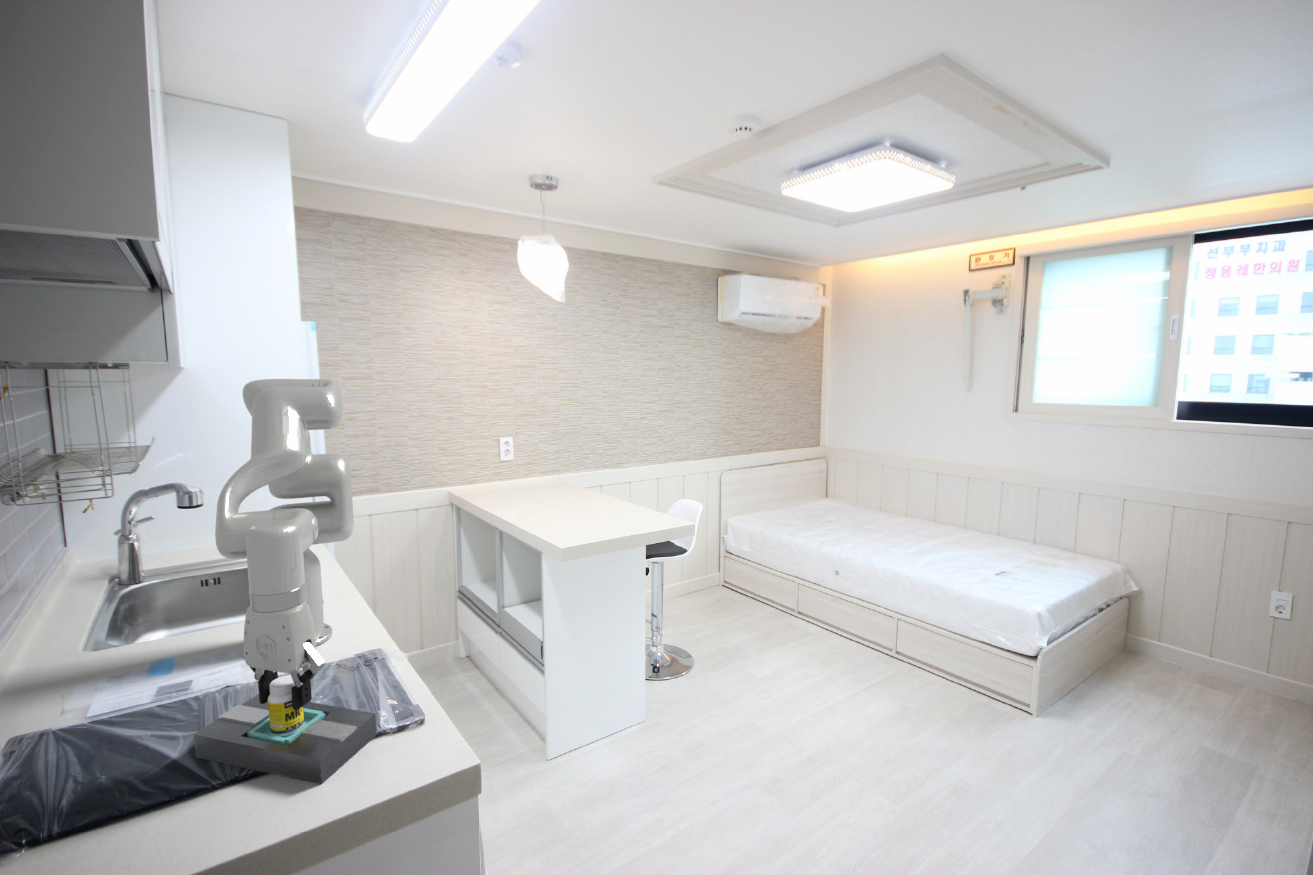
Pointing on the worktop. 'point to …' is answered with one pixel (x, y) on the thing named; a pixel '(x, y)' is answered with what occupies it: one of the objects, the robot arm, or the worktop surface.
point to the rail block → (300, 759)
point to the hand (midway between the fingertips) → (285, 701)
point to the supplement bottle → (283, 708)
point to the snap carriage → (265, 734)
